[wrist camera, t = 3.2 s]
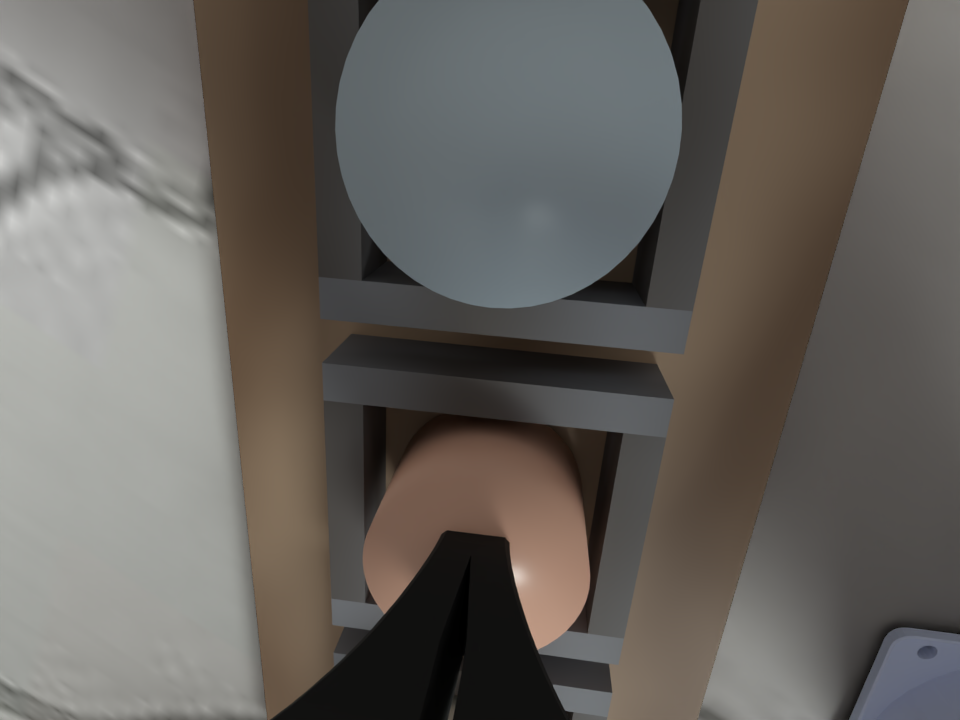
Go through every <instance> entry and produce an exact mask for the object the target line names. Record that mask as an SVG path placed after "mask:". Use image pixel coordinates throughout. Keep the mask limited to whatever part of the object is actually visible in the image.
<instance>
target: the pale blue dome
mask: <svg viewBox="0 0 960 720" xmlns="http://www.w3.org/2000/svg"><path fill="white" fill-rule="evenodd" d="M335 133H336V145H337V155H338V160H339V165H340V170H341V174H342V178H343V181H344V184H345V187H346V190H347V193H348V196H349V199H350V201H351V203H352V205H353V207H354V209H355V212H356V214H357V216H358V218H359V220H360V221H361V223H362V224H363V226H364V228H365V229H366V231H367V232H368V234H369V236H370V237H371V238H372V240H373V241H374V242H375V243H376V245H377V246H378V247H379V248H380V250H381V251H382V252H383V253H384V254H385V255H386V256H387V257H388V258H389V259H390V260H391V261H392V262H393V263H394V264H395V265H396V266H397V267H398V268H399V269H400V270H402V271H403V272H404V273H406V274H407V275H408V276H410V277H411V278H412V279H413V280H415V281H416V282H418V283H420V284H422V285H423V286H425V287H427V288H428V289H430V290H432V291H434V292H436V293H438V294H441V295H443V296H445V297H448V298H450V299H453V300H456V301H460V302H463V303H467V304H470V305H476V306H482V307H489V308H521V307H531V306H536V305H540V304H545V303H549V302H553V301H555V300H558V299H561V298H564V297H566V296H569V295H572V294H574V293H576V292H578V291H580V290H582V289H583V288H585V287H587V286H589V285H591V284H593V283H594V282H595V281H597V280H598V279H600V278H601V277H603V276H604V275H606V274H607V273H609V272H610V271H611V270H612V269H613V268H614V267H615V266H617V265H618V264H619V263H620V262H621V261H622V260H623V259H625V258H626V256H627V255H628V254H629V253H630V252H631V251H632V250H633V249H634V247H635V246H636V245H637V244H638V243H639V242H640V241H641V239H642V238H643V236H644V235H645V233H646V232H647V231H648V229H649V228H650V226H651V225H652V223H653V222H654V220H655V218H656V216H657V214H658V212H659V210H660V209H661V207H662V205H663V203H664V201H665V198H666V196H667V193H668V190H669V188H670V185H671V183H672V180H673V177H674V173H675V169H676V164H677V160H678V156H679V150H680V142H681V133H682V102H681V95H680V87H679V80H678V76H677V72H676V68H675V65H674V61H673V57H672V54H671V51H670V49H669V46H668V44H667V42H666V39H665V37H664V35H663V32H662V30H661V28H660V26H659V25H658V23H657V21H656V20H655V18H654V16H653V15H652V13H651V11H650V10H649V8H648V7H647V5H646V4H645V3H644V2H643V0H379V1H378V2H377V3H376V5H375V6H374V7H373V9H372V10H371V11H370V12H369V14H368V16H367V17H366V19H365V21H364V22H363V24H362V26H361V28H360V29H359V31H358V33H357V35H356V37H355V39H354V41H353V44H352V46H351V48H350V51H349V53H348V56H347V58H346V61H345V65H344V68H343V72H342V76H341V79H340V83H339V90H338V96H337V103H336V121H335Z"/></svg>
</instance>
